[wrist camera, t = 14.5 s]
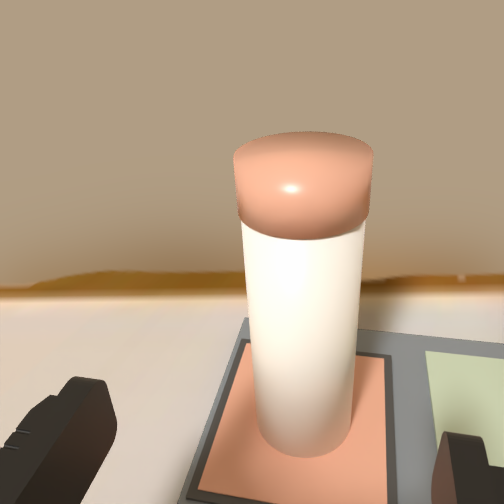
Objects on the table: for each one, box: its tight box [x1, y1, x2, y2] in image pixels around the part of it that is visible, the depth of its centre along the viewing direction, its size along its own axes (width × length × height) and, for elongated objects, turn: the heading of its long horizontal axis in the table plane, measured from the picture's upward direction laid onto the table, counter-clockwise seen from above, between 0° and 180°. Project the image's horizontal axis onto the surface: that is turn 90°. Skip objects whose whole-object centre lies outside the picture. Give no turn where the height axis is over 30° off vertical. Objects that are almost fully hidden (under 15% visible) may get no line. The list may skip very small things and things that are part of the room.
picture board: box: [177, 318, 504, 504], centre depth 22 cm, size 18×14×1 cm
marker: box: [233, 132, 373, 458], centre depth 19 cm, size 5×5×13 cm
